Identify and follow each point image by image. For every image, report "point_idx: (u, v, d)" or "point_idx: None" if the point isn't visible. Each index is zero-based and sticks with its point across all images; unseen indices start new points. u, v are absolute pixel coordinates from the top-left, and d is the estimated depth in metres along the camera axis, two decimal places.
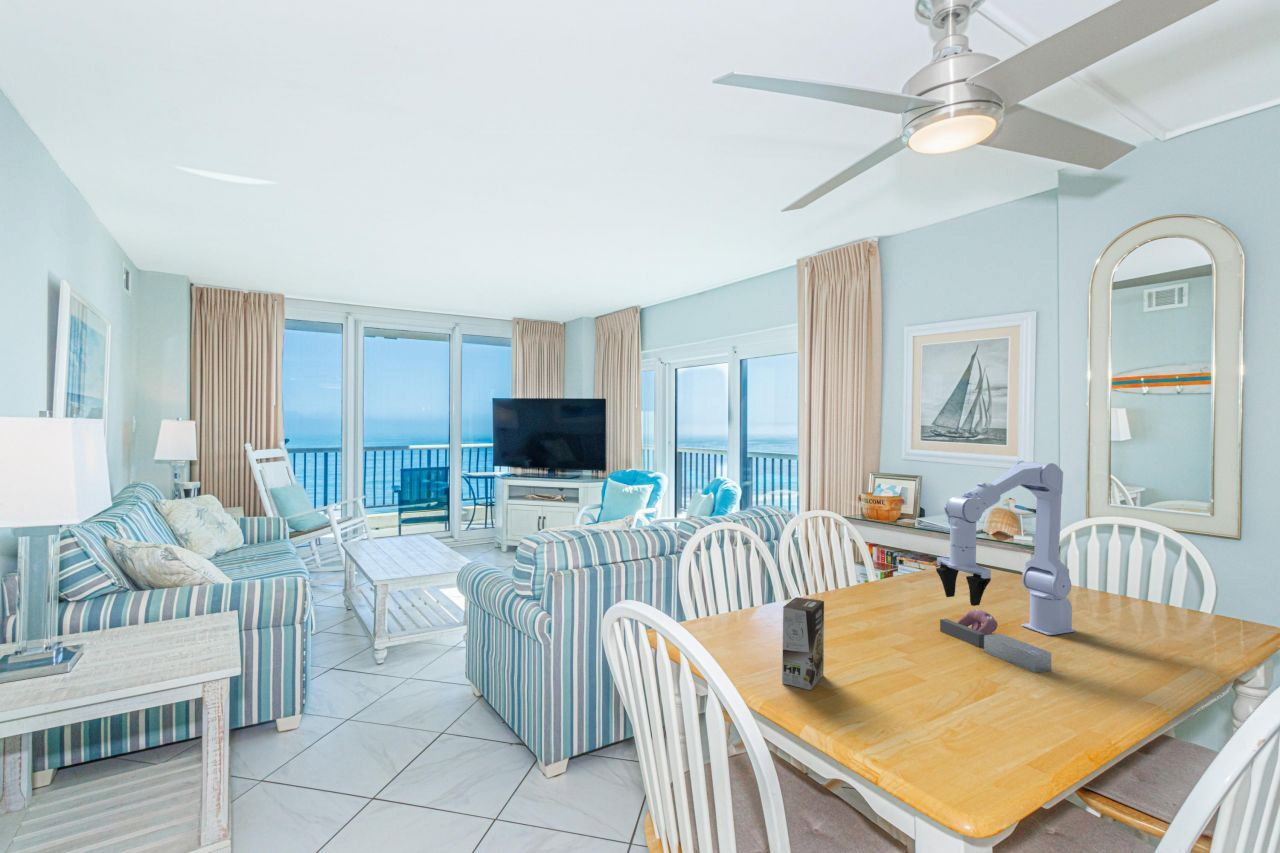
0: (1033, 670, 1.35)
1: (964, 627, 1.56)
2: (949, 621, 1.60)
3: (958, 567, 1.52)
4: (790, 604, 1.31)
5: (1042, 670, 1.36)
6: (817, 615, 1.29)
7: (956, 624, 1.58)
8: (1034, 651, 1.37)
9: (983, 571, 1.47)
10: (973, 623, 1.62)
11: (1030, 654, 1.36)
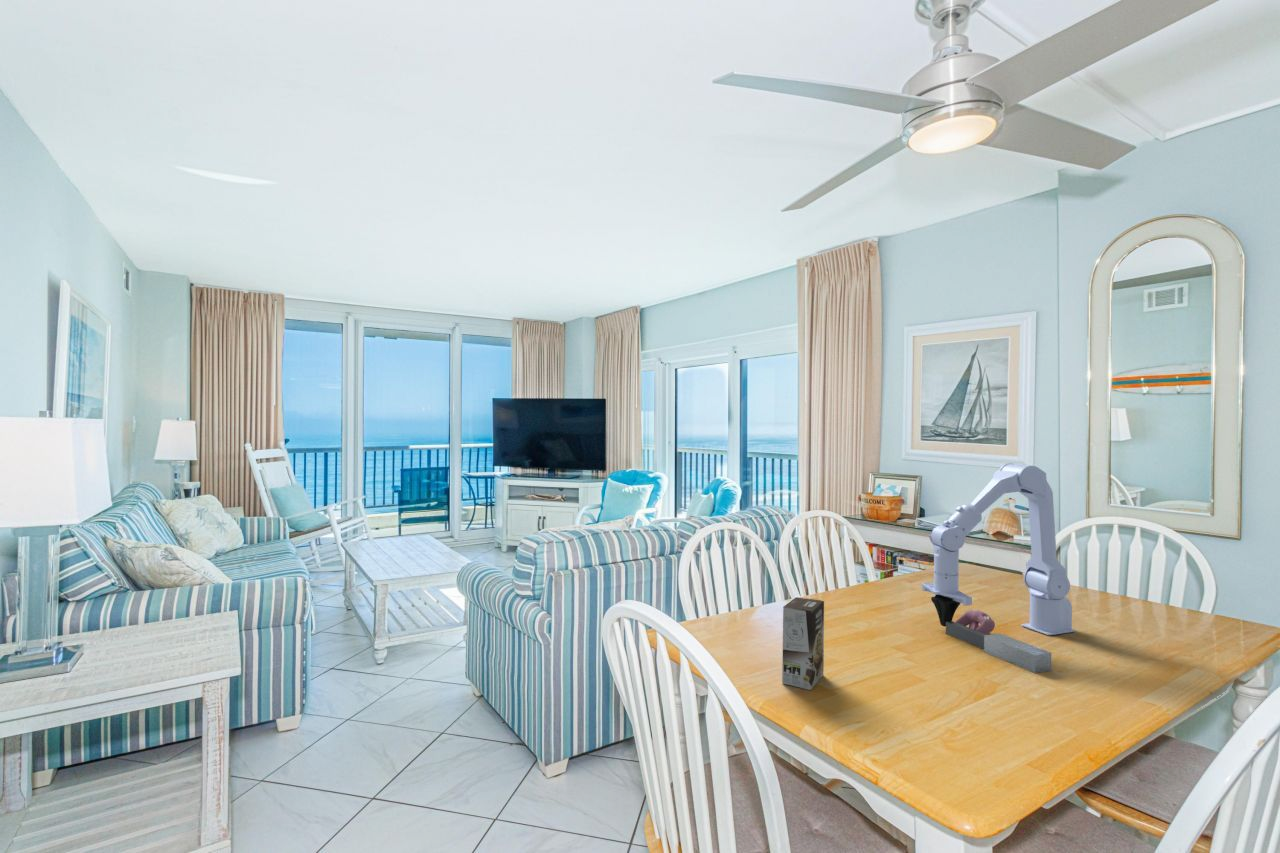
0: (1033, 670, 1.35)
1: (970, 629, 1.54)
2: (955, 623, 1.58)
3: (941, 594, 1.59)
4: (790, 604, 1.31)
5: (1042, 670, 1.36)
6: (817, 615, 1.29)
7: (962, 626, 1.56)
8: (1034, 651, 1.37)
9: (964, 598, 1.54)
10: (970, 623, 1.62)
11: (1030, 654, 1.36)
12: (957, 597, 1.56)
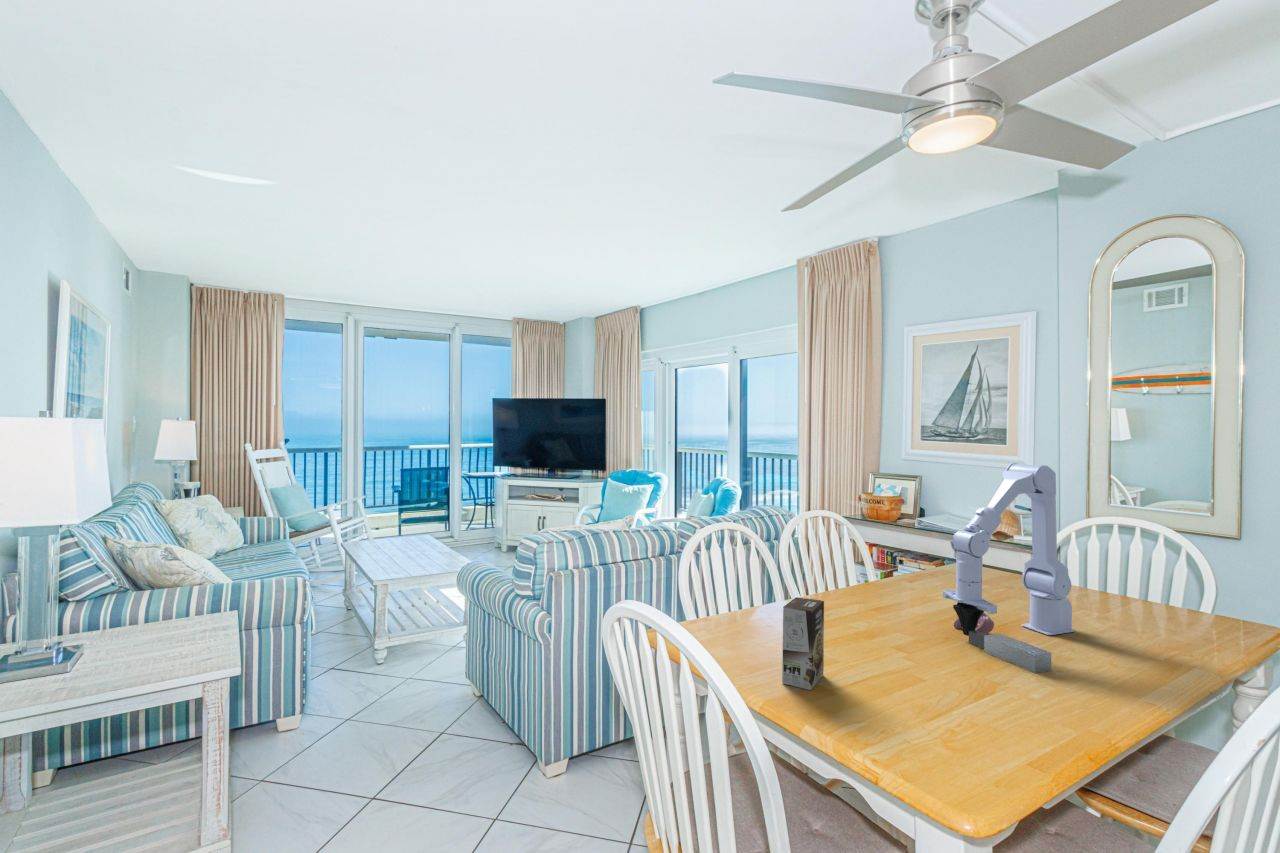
0: (1033, 670, 1.35)
1: None
2: (978, 632, 1.52)
3: (964, 601, 1.52)
4: (790, 604, 1.31)
5: (1042, 670, 1.36)
6: (817, 615, 1.29)
7: None
8: (1034, 651, 1.37)
9: (989, 607, 1.48)
10: None
11: (1030, 654, 1.36)
12: (981, 605, 1.49)
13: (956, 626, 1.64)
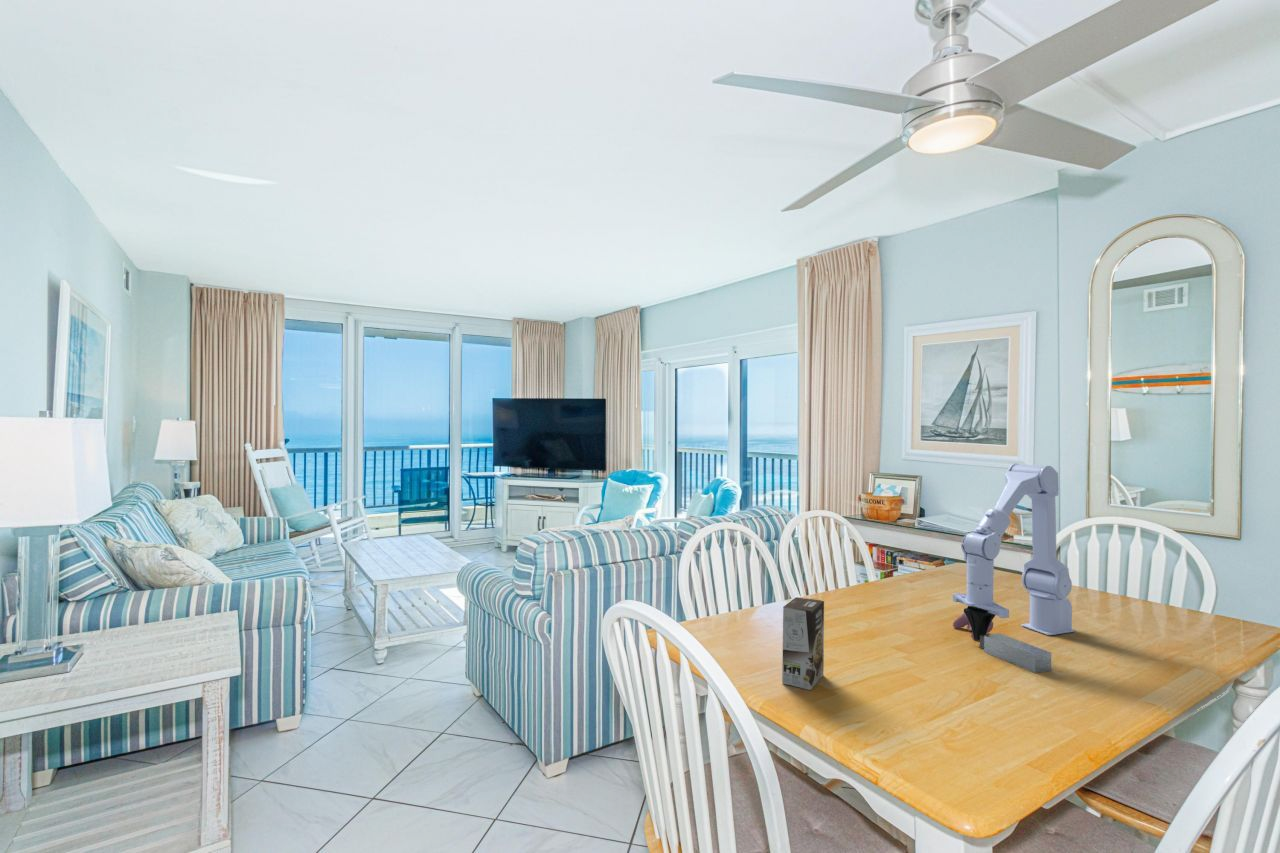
0: (1033, 670, 1.35)
1: None
2: None
3: (975, 605, 1.49)
4: (790, 604, 1.31)
5: (1042, 670, 1.36)
6: (817, 615, 1.29)
7: None
8: (1034, 651, 1.37)
9: (1001, 611, 1.44)
10: (969, 623, 1.62)
11: (1030, 654, 1.36)
12: (993, 609, 1.46)
13: (955, 626, 1.64)
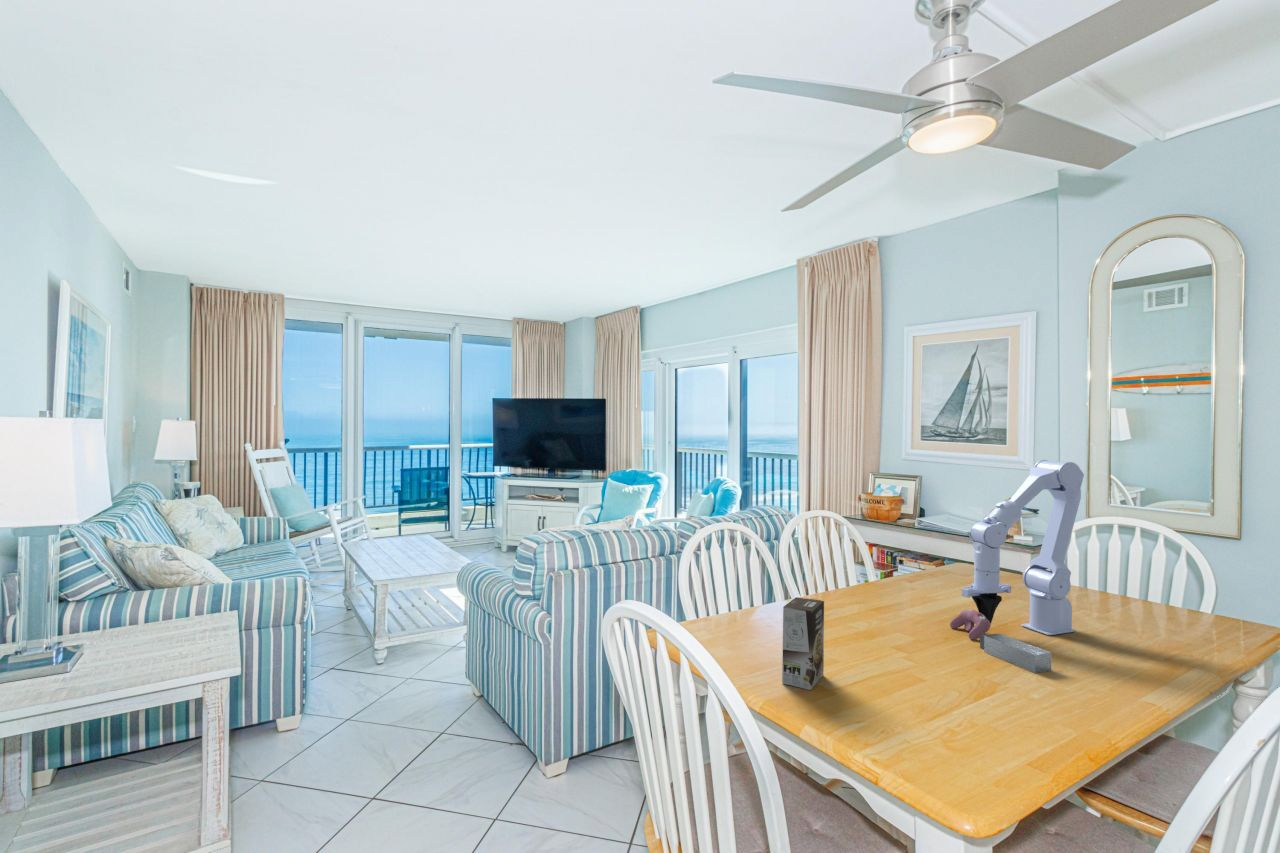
0: (1033, 670, 1.35)
1: None
2: None
3: None
4: (790, 604, 1.31)
5: (1042, 670, 1.36)
6: (817, 615, 1.29)
7: None
8: (1034, 651, 1.37)
9: None
10: (966, 623, 1.62)
11: (1030, 654, 1.36)
12: None
13: (952, 626, 1.64)
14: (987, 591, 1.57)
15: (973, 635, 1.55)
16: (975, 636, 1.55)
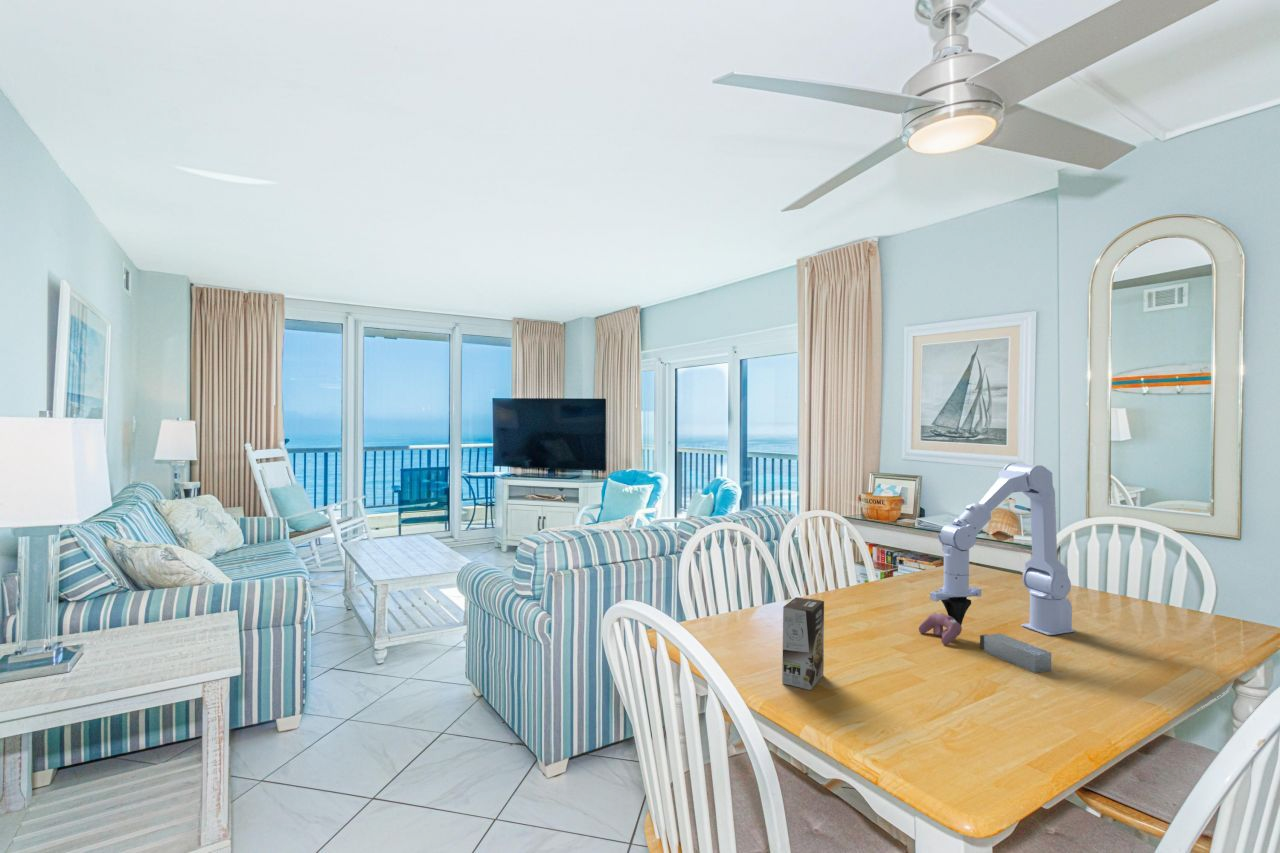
0: (1033, 670, 1.35)
1: None
2: None
3: None
4: (790, 604, 1.31)
5: (1042, 670, 1.36)
6: (817, 615, 1.29)
7: None
8: (1034, 651, 1.37)
9: None
10: (934, 627, 1.59)
11: (1030, 654, 1.36)
12: None
13: (921, 631, 1.60)
14: (956, 595, 1.54)
15: (946, 640, 1.51)
16: (948, 641, 1.52)
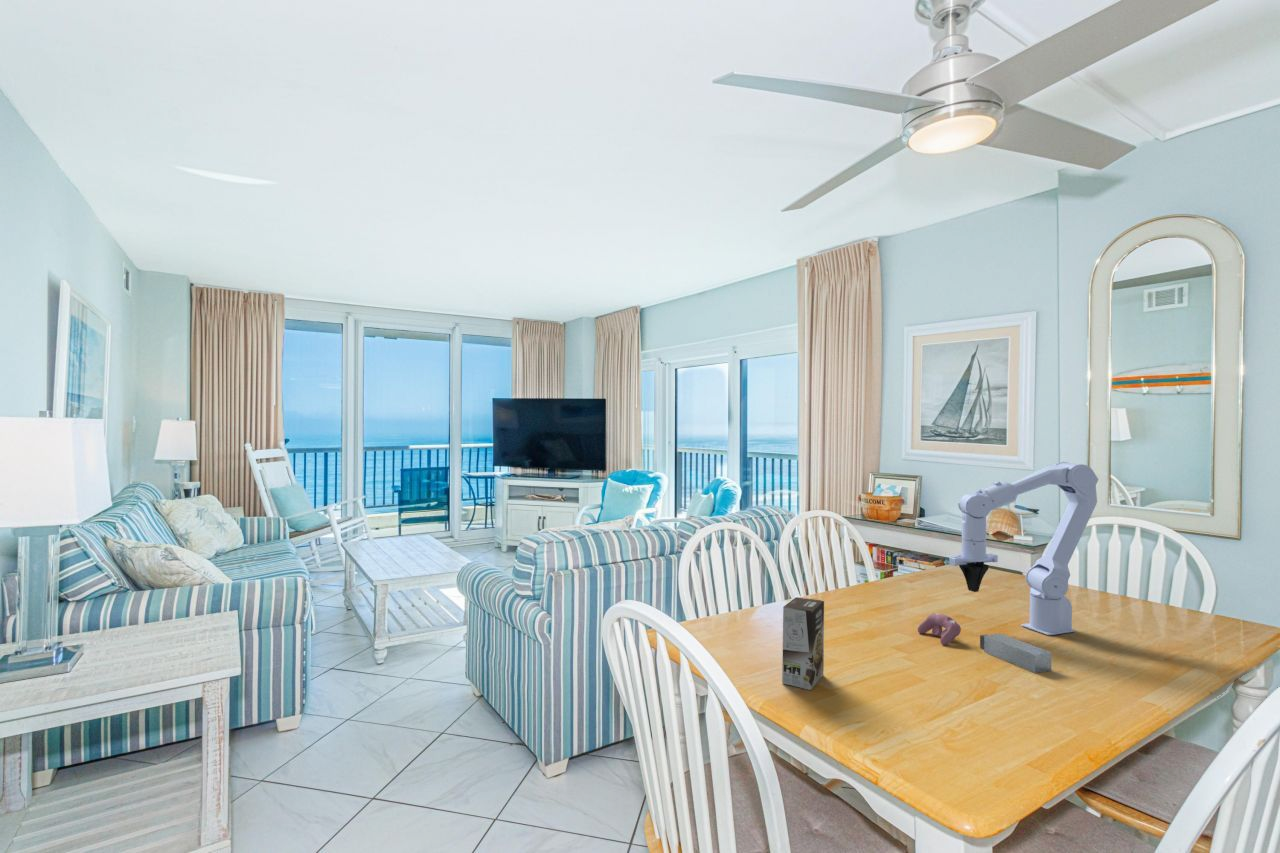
0: (1033, 670, 1.35)
1: None
2: None
3: None
4: (790, 604, 1.31)
5: (1042, 670, 1.36)
6: (817, 615, 1.29)
7: None
8: (1034, 651, 1.37)
9: None
10: (934, 627, 1.59)
11: (1030, 654, 1.36)
12: None
13: (920, 631, 1.60)
14: (974, 560, 1.62)
15: (945, 640, 1.51)
16: (947, 641, 1.52)
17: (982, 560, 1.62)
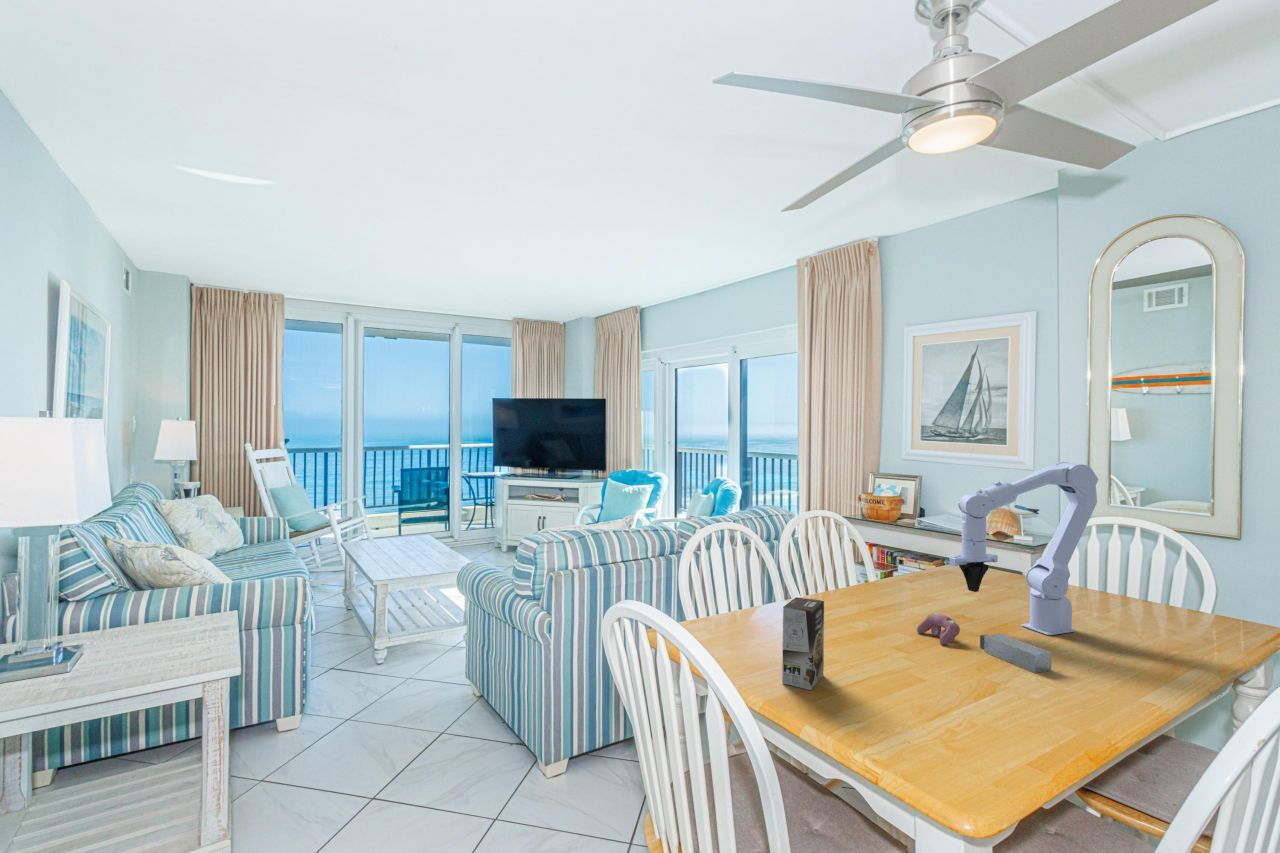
0: (1033, 670, 1.35)
1: None
2: None
3: None
4: (790, 604, 1.31)
5: (1042, 670, 1.36)
6: (817, 615, 1.29)
7: None
8: (1034, 651, 1.37)
9: None
10: (933, 628, 1.59)
11: (1030, 654, 1.36)
12: None
13: (919, 631, 1.59)
14: (974, 560, 1.62)
15: (945, 641, 1.51)
16: (946, 641, 1.51)
17: (982, 560, 1.62)
